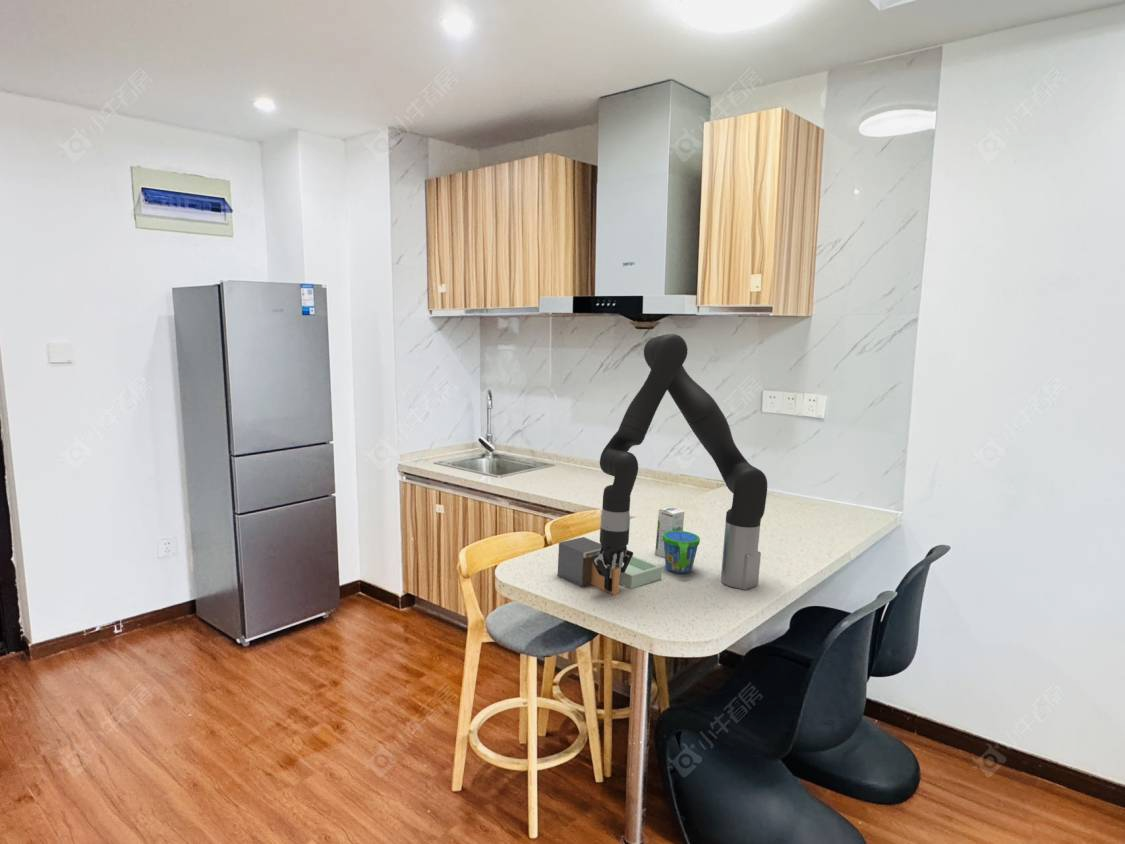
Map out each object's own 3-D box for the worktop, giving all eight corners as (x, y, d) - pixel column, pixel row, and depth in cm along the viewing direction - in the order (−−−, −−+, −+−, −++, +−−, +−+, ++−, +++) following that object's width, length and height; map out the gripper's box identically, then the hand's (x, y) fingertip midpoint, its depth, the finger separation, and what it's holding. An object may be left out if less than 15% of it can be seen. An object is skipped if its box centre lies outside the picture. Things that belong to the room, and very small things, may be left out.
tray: (661, 579, 185) (661, 566, 185) (631, 588, 178) (631, 575, 177) (615, 560, 199) (615, 548, 198) (585, 568, 191) (586, 556, 191)
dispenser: (608, 581, 182) (610, 547, 181) (583, 588, 176) (585, 553, 175) (581, 569, 190) (583, 536, 189) (557, 575, 184) (559, 542, 183)
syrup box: (666, 550, 209) (669, 505, 207) (681, 556, 205) (684, 510, 203) (654, 554, 205) (657, 508, 203) (670, 559, 201) (673, 513, 199)
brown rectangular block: (618, 593, 174) (619, 567, 173) (614, 594, 173) (615, 569, 172) (592, 581, 181) (593, 556, 180) (588, 582, 180) (589, 557, 179)
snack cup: (698, 581, 185) (700, 546, 183) (659, 577, 187) (662, 542, 185) (696, 562, 200) (699, 529, 199) (661, 558, 202) (663, 526, 200)
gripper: (606, 534, 165) (602, 600, 168) (643, 525, 174) (639, 588, 176) (585, 526, 171) (582, 590, 173) (622, 518, 180) (619, 580, 182)
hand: (611, 589), depth 175 cm, fingers closed on brown rectangular block, 1 cm apart
